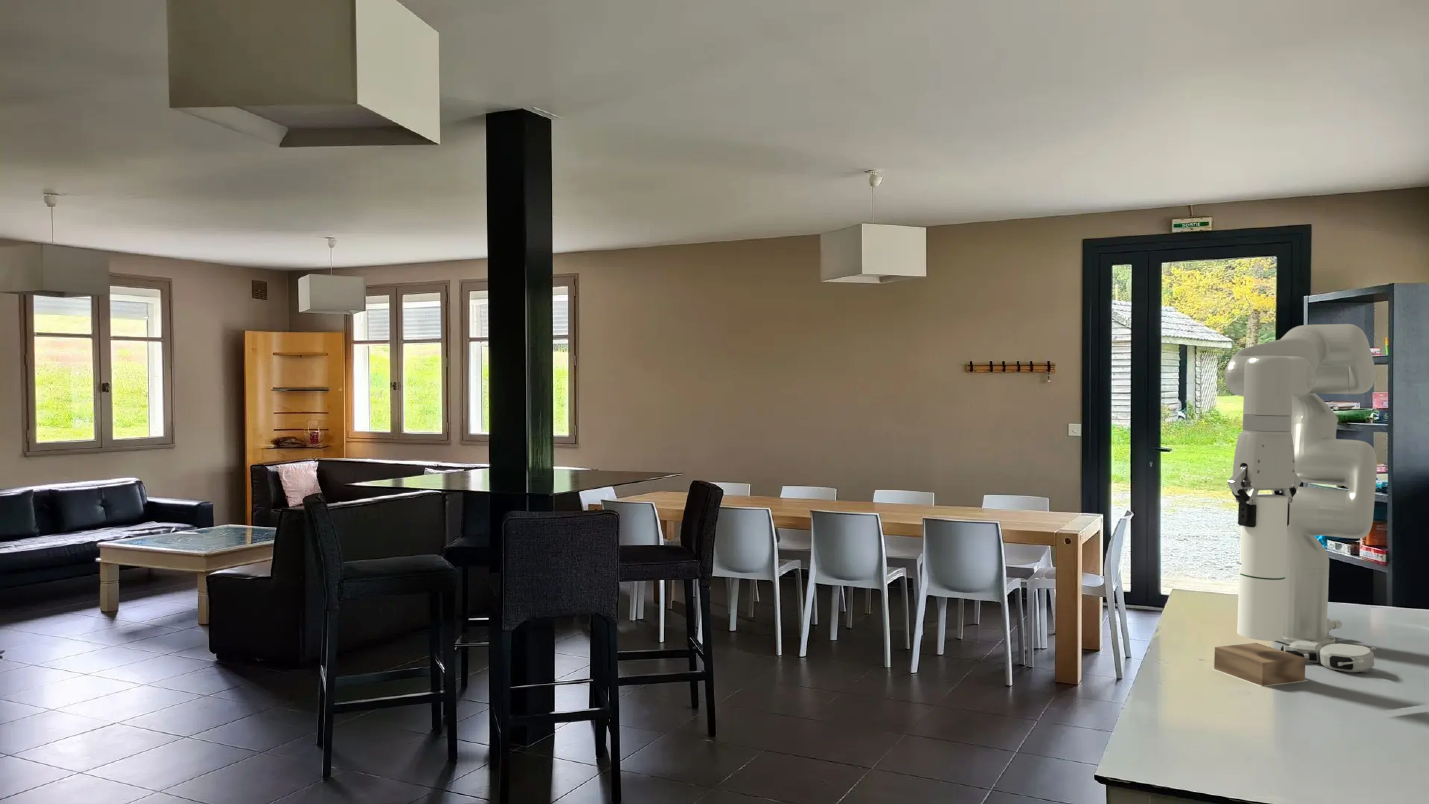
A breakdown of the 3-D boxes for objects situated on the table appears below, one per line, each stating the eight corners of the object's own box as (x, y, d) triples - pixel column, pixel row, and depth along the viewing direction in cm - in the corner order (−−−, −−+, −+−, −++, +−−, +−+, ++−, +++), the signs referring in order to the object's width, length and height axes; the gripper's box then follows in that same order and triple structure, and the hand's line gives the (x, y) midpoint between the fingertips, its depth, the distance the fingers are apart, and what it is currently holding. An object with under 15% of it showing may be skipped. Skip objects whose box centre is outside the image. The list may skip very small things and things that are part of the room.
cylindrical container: (1278, 632, 175) (1282, 494, 174) (1287, 642, 168) (1292, 499, 168) (1233, 628, 177) (1238, 492, 177) (1241, 638, 171) (1245, 496, 170)
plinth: (1255, 664, 179) (1256, 642, 179) (1304, 680, 170) (1305, 658, 170) (1214, 669, 176) (1214, 647, 176) (1262, 685, 167) (1262, 662, 167)
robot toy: (1273, 671, 182) (1368, 683, 172) (1272, 646, 182) (1367, 657, 172) (1289, 657, 191) (1380, 668, 181) (1287, 634, 191) (1379, 644, 181)
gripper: (1284, 424, 178) (1281, 520, 179) (1211, 424, 172) (1208, 524, 173) (1322, 426, 171) (1318, 527, 172) (1247, 426, 165) (1244, 530, 166)
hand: (1263, 524), depth 172 cm, fingers closed on cylindrical container, 7 cm apart
